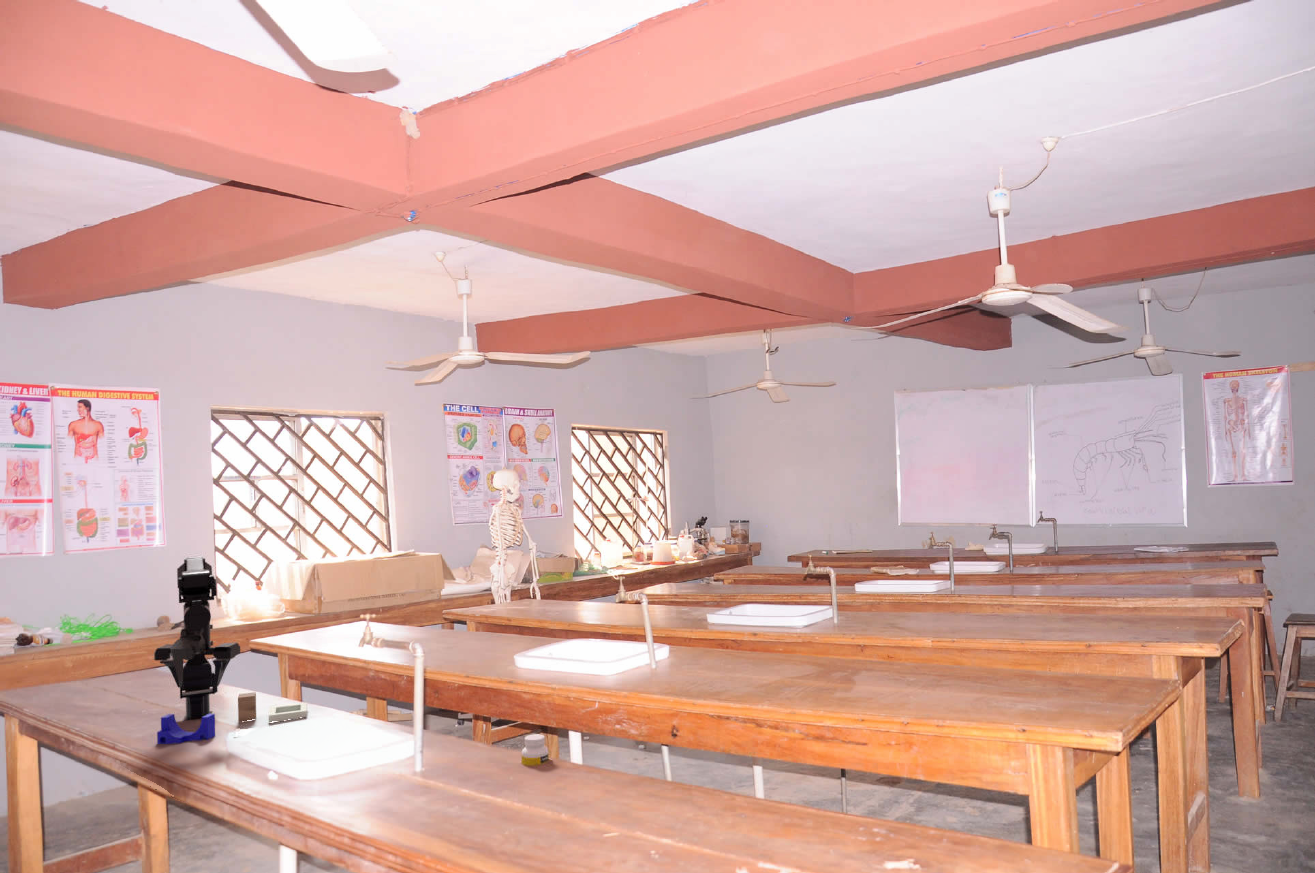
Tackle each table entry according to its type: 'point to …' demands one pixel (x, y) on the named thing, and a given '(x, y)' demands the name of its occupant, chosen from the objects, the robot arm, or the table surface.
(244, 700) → the walnut peg block
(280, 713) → the frame
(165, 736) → the cable clip
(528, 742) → the supplement bottle
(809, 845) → the table surface
